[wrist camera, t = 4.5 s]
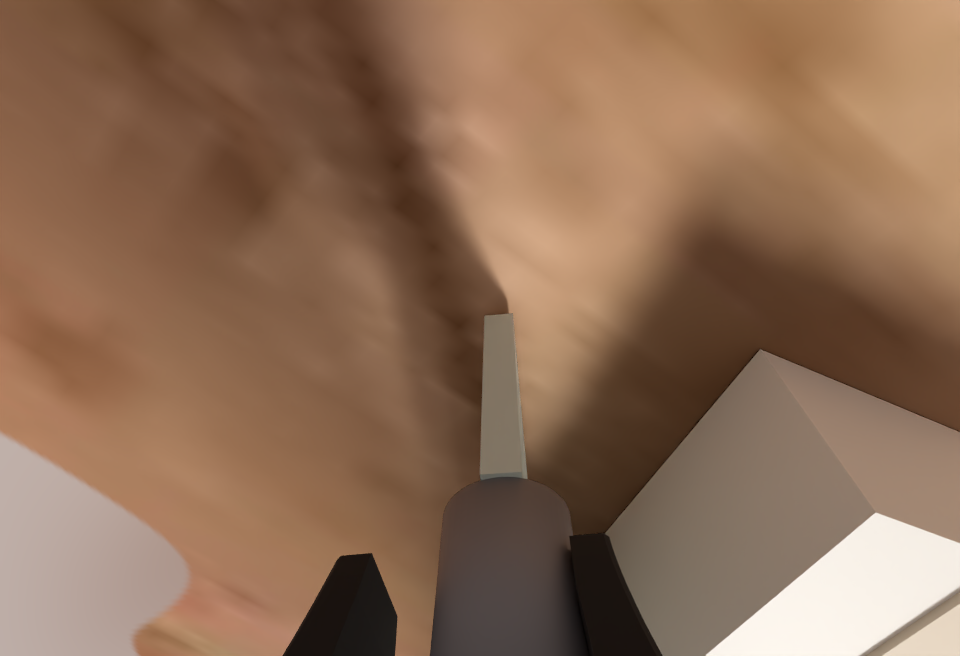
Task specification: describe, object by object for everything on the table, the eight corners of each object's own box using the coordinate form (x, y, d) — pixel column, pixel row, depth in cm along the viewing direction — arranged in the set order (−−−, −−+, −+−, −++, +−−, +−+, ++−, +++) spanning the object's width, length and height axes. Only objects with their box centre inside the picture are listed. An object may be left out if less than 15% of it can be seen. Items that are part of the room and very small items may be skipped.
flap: (561, 602, 23) (597, 941, 15) (496, 605, 23) (497, 941, 15) (545, 310, 16) (597, 656, 8) (452, 318, 16) (411, 663, 8)
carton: (736, 661, 26) (799, 839, 20) (543, 606, 24) (557, 787, 18) (1003, 448, 19) (1204, 636, 13) (761, 347, 17) (882, 519, 12)
